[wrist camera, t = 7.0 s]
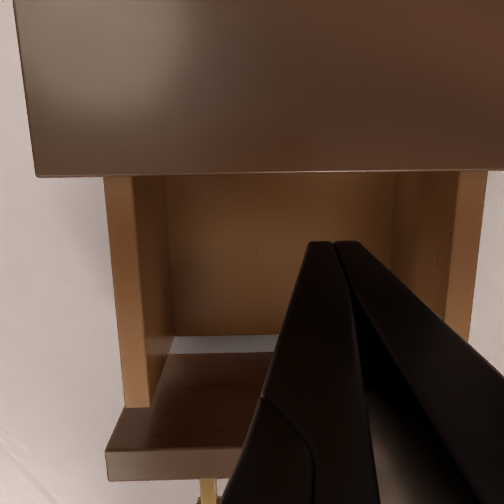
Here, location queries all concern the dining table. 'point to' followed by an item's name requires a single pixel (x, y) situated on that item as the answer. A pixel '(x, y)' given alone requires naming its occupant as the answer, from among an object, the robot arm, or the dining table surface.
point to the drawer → (254, 290)
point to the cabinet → (262, 86)
